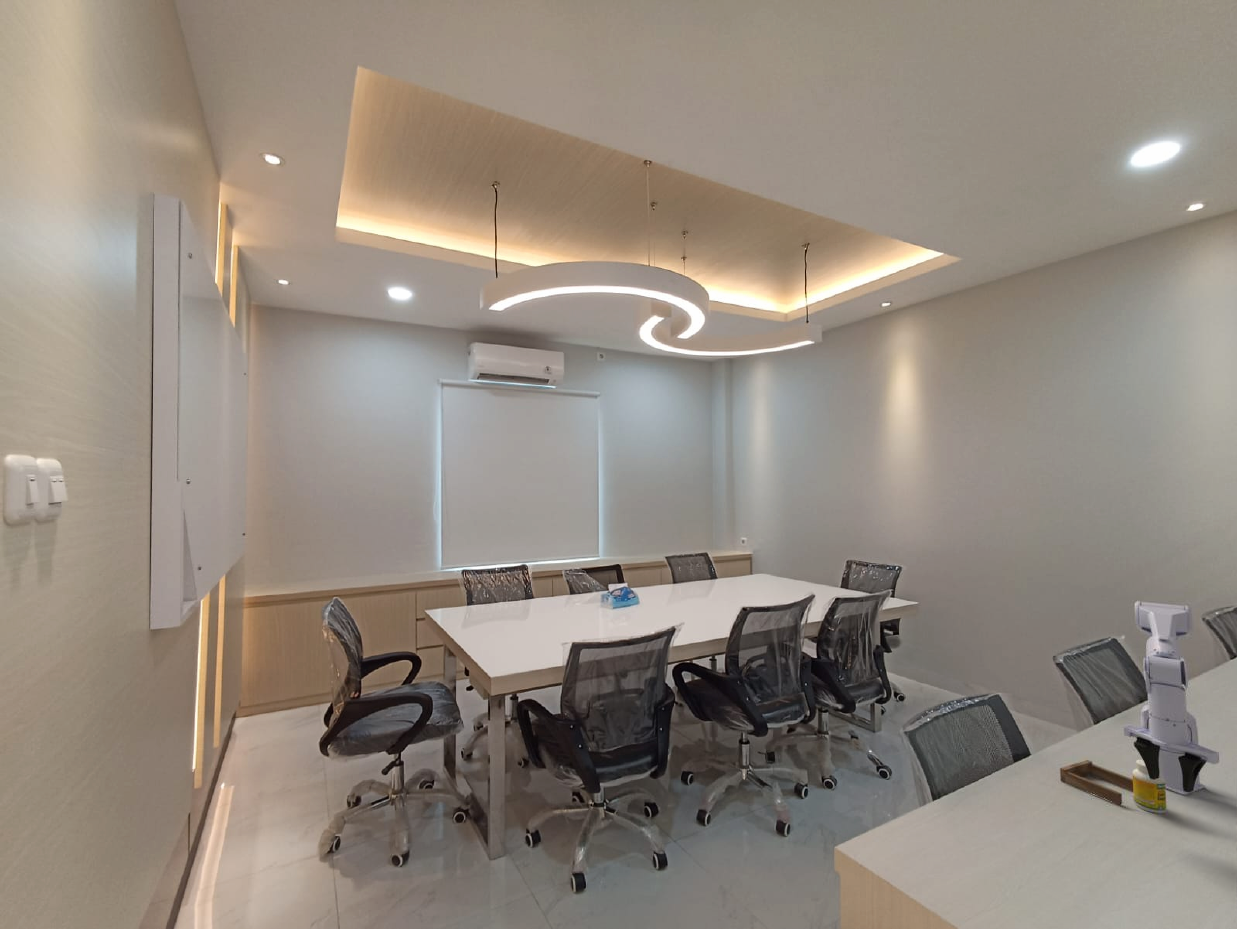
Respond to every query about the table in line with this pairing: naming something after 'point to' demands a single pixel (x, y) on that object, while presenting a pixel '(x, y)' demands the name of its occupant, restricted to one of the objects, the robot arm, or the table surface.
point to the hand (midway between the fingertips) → (1171, 784)
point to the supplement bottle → (1148, 790)
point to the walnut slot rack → (1085, 768)
